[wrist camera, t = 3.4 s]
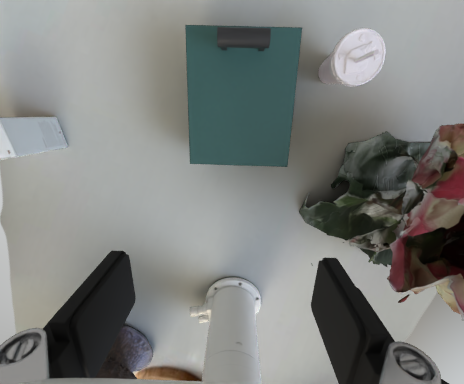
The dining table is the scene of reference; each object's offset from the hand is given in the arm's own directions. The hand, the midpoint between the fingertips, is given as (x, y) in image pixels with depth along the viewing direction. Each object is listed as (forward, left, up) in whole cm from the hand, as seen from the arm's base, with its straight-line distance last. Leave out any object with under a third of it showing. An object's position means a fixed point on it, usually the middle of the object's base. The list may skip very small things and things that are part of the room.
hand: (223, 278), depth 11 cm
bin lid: (+3, +9, -23) cm, 25 cm away
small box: (-33, +12, -33) cm, 48 cm away
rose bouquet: (+27, -13, -33) cm, 45 cm away
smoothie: (+19, +10, -33) cm, 39 cm away
